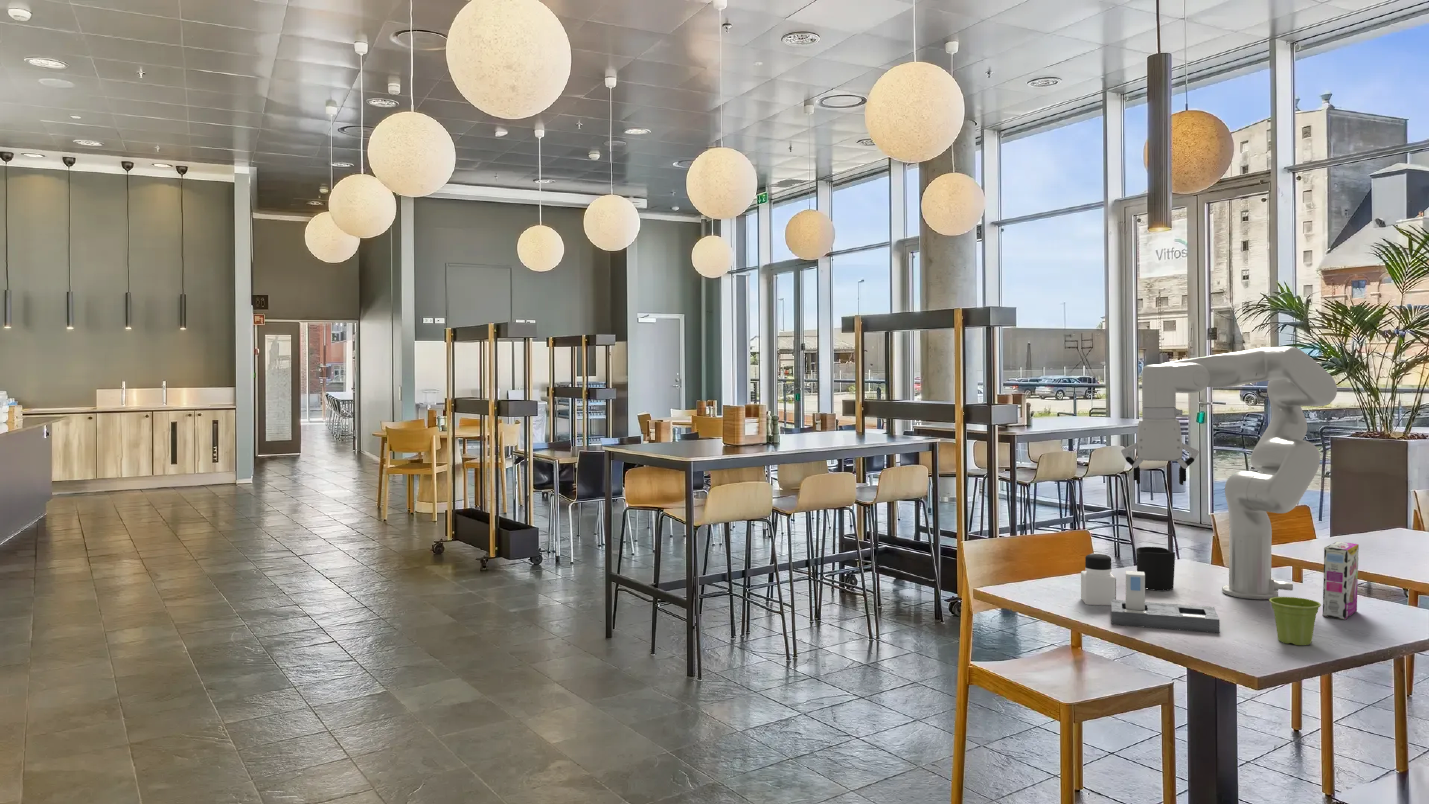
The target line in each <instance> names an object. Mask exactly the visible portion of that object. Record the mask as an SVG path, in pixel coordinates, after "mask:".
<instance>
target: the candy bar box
mask: <svg viewBox="0 0 1429 804" xmlns="http://www.w3.org/2000/svg"><path fill="white" fill-rule="evenodd" d="M1359 546H1360V545H1359V544H1358V543H1353V542H1345V541H1344V542H1343V541H1335V542H1334V543H1331V544H1329V545H1327V546H1324V548H1323V551H1324V552H1323V586H1322V588H1323V591H1322V594H1323V595H1322V617H1325V618H1330V619H1336V620H1337V619H1338V620H1347V619H1349V617H1351V616H1352V615H1353V614H1355V613H1356V612H1357V610H1358V584H1359V583H1358V581H1359V580H1358V579H1359V577H1358V575H1359V549H1360V548H1359Z"/></svg>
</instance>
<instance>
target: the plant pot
mask: <svg viewBox="0 0 1429 804" xmlns="http://www.w3.org/2000/svg"><path fill="white" fill-rule="evenodd" d="M1268 601H1269V603H1270V604H1271V607H1272V610H1273V612H1274V613H1273V614H1274V621H1275V626H1276V634H1277V639H1278V641H1279V642H1281V643H1283V644H1293V645H1296V646H1309V645H1311V644H1312V642H1313V637H1314V630H1315V623H1316V618H1317V614H1318V613H1319V609H1320V608H1321V606H1322V604H1321V603H1320V602H1319V601H1316V600H1314V599H1309V598H1308V599H1307V598H1302V597H1295V596H1278V597H1273V598H1270V599H1268Z"/></svg>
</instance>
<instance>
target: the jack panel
mask: <svg viewBox="0 0 1429 804" xmlns="http://www.w3.org/2000/svg"><path fill="white" fill-rule="evenodd" d="M1110 607H1111V610H1110V611H1111V613H1110V615H1111V625H1114V624H1117V626H1126V625H1127V626H1128V627H1138V626H1144V627H1143V628H1150V627H1152V628H1153V629H1164V630H1175V629H1176V630H1175V631H1187V630H1188V632H1198V633H1199V632H1203V633H1211V632H1216V633H1215V634H1220V624H1221V623H1220V621H1221V620H1220V618H1219V615H1218V613H1217V610H1216V608H1215V606H1209V605H1208V606H1205V605H1196V604H1195V605H1193V604H1181V603H1167V602H1166V603H1165V602H1152V601H1145V610H1132V609H1126V599H1116V600H1113V599H1111V606H1110ZM1118 624H1120V625H1118ZM1152 628H1151V629H1152ZM1177 629H1178V630H1177ZM1179 629H1180V630H1179Z"/></svg>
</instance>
